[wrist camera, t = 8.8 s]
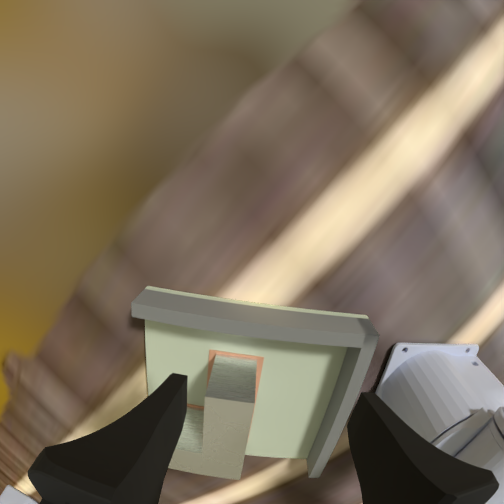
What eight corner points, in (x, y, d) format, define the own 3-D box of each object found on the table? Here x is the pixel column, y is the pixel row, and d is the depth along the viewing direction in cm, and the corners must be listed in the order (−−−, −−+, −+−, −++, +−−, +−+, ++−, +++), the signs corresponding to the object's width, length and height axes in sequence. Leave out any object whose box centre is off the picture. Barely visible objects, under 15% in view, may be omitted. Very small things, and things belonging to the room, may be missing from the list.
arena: (366, 315, 22) (379, 335, 19) (315, 454, 26) (319, 477, 23) (147, 285, 22) (131, 302, 19) (154, 433, 26) (145, 455, 23)
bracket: (243, 437, 24) (239, 479, 20) (166, 424, 24) (152, 464, 20) (257, 358, 22) (254, 403, 17) (163, 344, 22) (141, 383, 17)
